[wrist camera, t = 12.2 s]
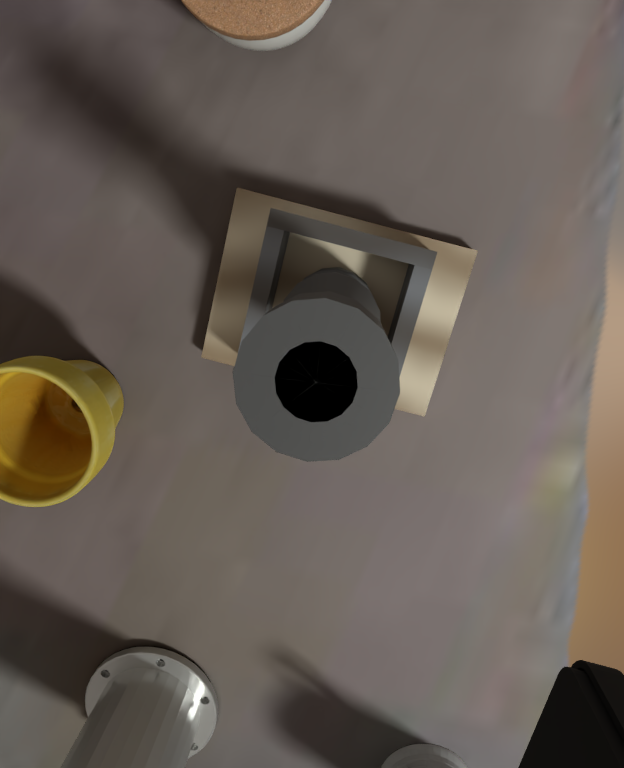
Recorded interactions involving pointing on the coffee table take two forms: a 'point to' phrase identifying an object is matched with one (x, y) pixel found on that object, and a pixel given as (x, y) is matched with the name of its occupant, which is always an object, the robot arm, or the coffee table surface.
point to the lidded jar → (259, 20)
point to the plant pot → (54, 427)
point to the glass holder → (423, 757)
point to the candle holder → (318, 370)
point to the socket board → (348, 251)
